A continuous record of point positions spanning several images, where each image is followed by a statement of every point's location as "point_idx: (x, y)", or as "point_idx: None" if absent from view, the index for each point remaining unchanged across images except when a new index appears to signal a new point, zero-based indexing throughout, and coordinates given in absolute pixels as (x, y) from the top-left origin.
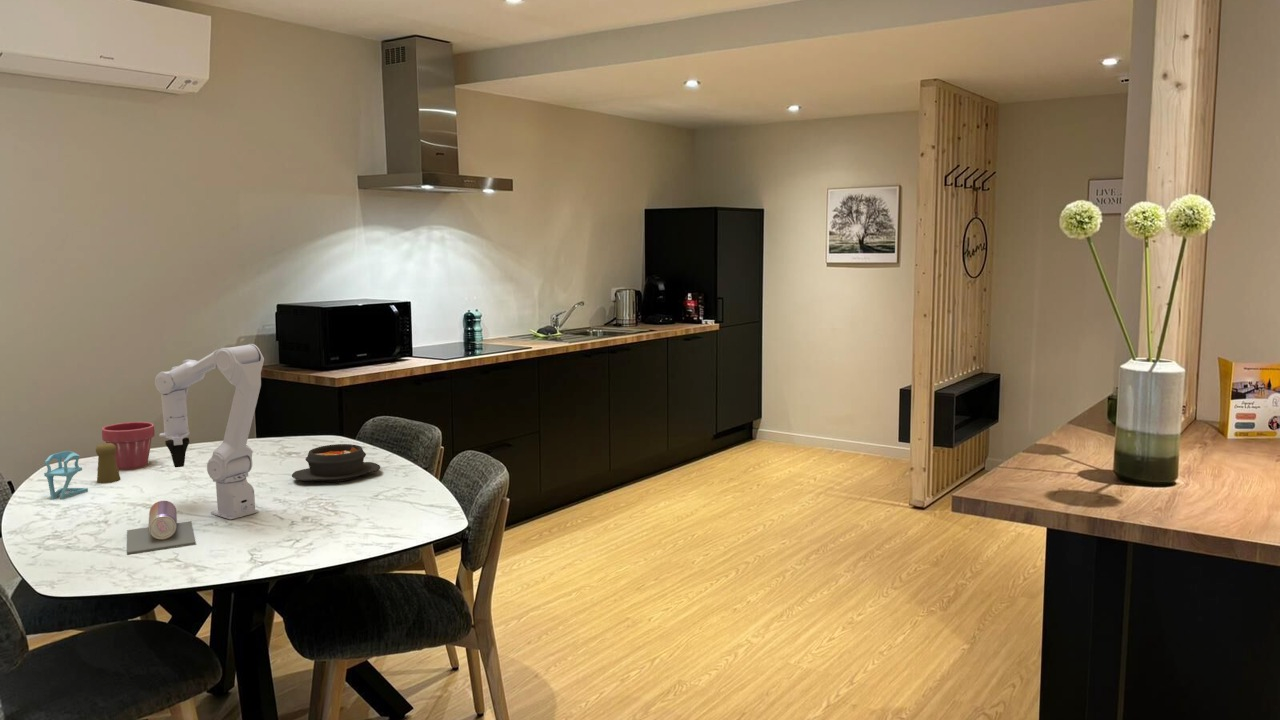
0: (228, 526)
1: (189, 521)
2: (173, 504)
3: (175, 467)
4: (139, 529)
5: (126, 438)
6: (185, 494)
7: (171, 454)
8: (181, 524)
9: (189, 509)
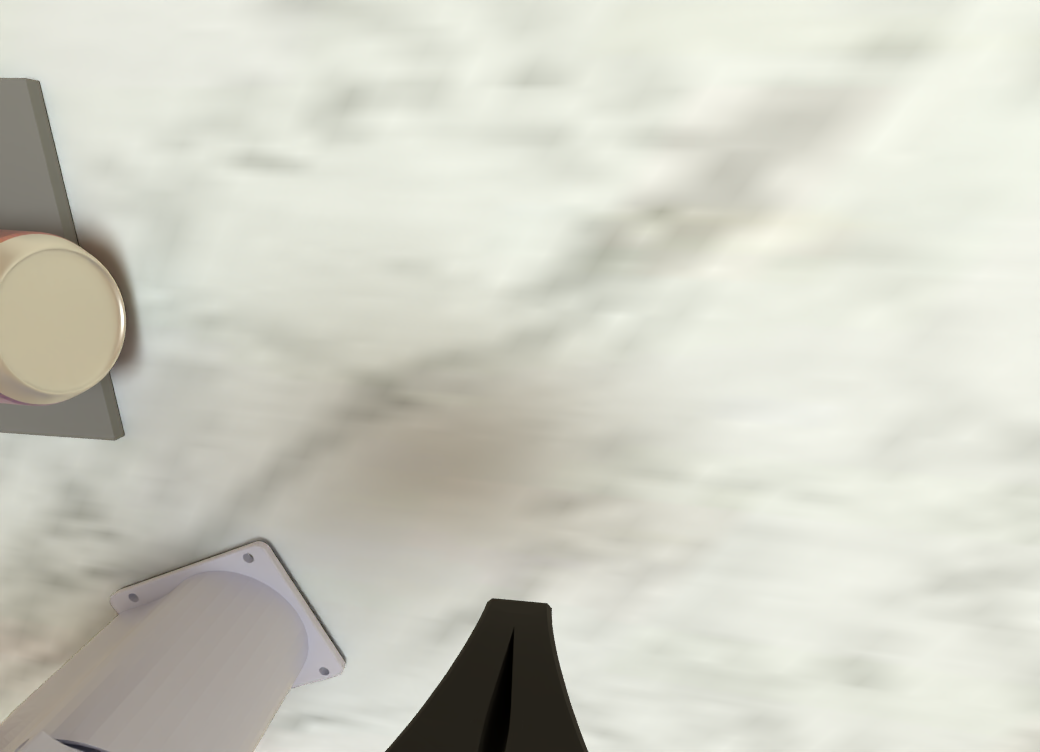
0: (23, 566)
1: (110, 431)
2: (13, 403)
3: (489, 601)
4: (21, 158)
5: None
6: (815, 481)
7: (399, 738)
8: None
9: (414, 458)
